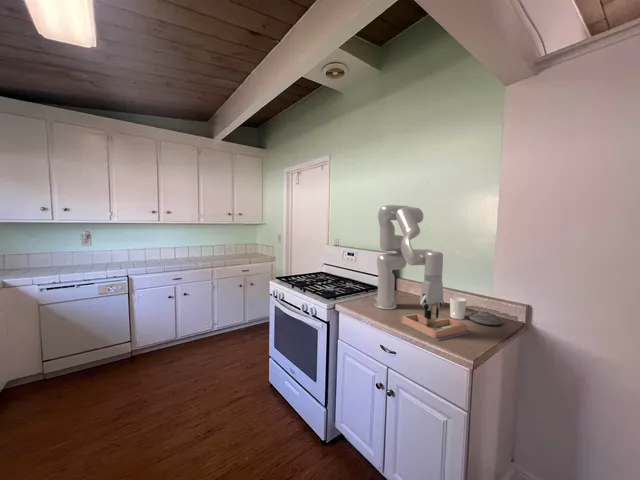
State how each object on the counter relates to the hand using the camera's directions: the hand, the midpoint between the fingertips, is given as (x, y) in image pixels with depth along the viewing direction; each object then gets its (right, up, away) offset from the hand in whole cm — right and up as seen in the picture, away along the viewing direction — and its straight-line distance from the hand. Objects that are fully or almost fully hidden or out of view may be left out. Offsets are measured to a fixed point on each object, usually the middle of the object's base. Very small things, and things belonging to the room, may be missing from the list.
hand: (431, 317), depth 129 cm
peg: (0, -4, 0) cm, 4 cm away
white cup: (+22, -6, +21) cm, 31 cm away
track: (+3, -7, +5) cm, 9 cm away
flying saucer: (+34, -7, +16) cm, 38 cm away
